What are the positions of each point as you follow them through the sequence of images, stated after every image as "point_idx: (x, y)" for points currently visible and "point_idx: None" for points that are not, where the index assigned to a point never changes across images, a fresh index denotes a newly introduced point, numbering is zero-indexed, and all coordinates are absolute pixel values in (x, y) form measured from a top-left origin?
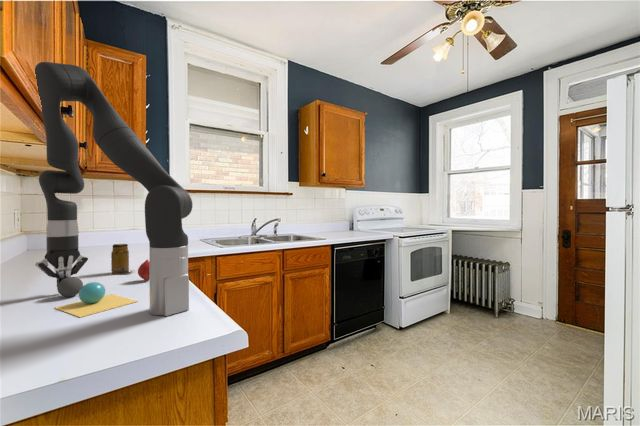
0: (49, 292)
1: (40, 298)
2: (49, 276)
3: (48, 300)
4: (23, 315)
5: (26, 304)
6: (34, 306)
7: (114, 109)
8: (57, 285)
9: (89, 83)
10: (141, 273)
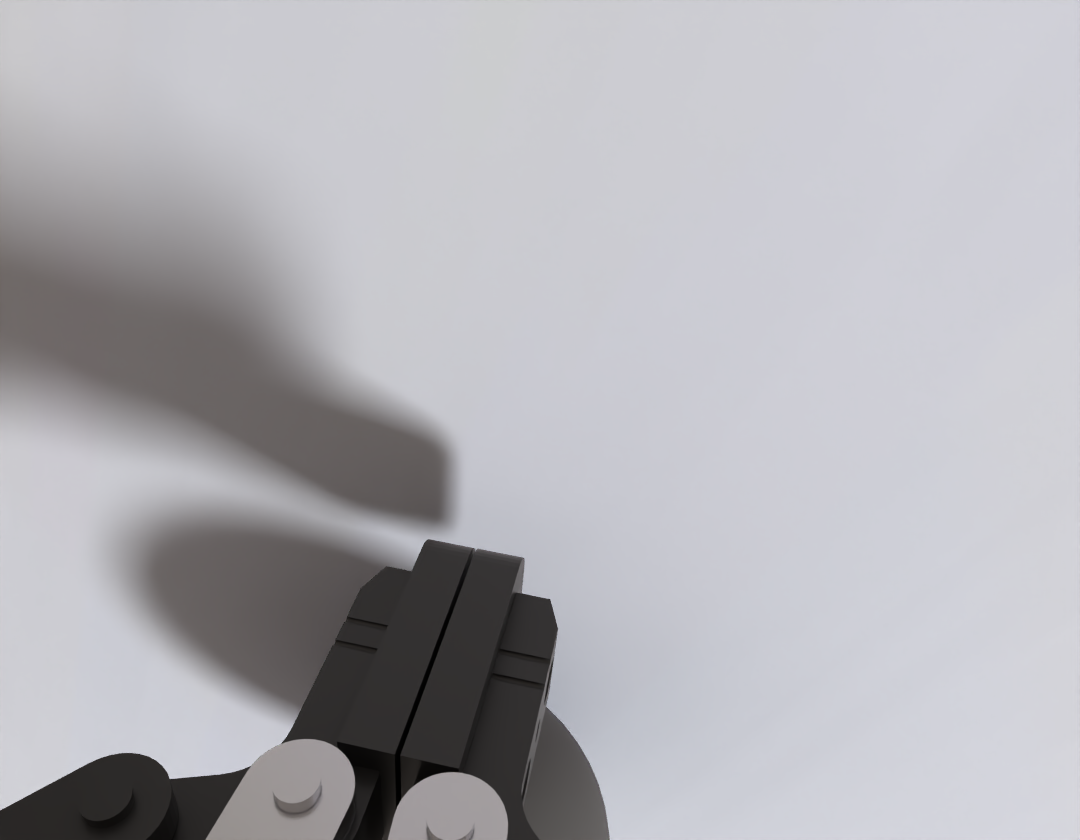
0: (419, 158)
1: (196, 441)
2: (101, 774)
3: (245, 619)
4: (7, 796)
5: (29, 547)
6: (93, 680)
7: None
8: (356, 625)
9: None
10: None
